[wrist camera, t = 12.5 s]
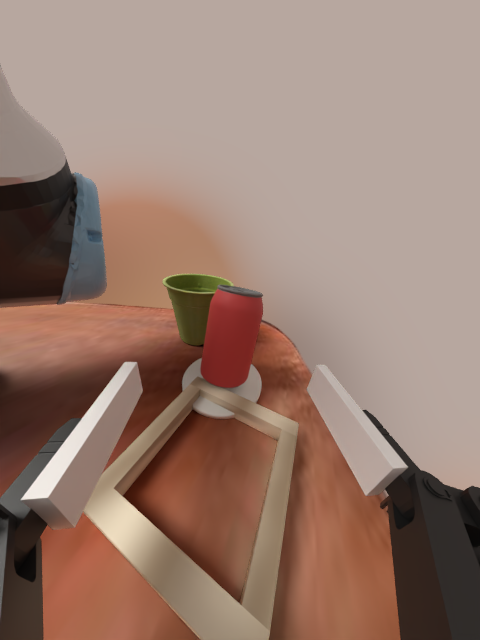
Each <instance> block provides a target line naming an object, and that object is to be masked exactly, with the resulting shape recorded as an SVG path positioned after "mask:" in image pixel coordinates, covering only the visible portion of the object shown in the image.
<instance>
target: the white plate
mask: <svg viewBox="0 0 480 640" xmlns="http://www.w3.org/2000/svg"><path fill="white" fill-rule="evenodd" d="M201 361H202V358H200V359H198V360H196V361H195V362H194V363H192V364H191V365H190V366H189V367H188V369H187V370H186V372H185V373H184V376H183V380H182V391H184V390H185V389H186V388H187V386H188V385H189V384H190V383H191V382H192V381H193V380H194V379H195V378H196V377H197V376H198V377H200V378H203V376H202V375H201V370H200V368H201ZM203 379H204V378H203ZM261 388H262V381H261V377H260V374H259V372H258V371H257V369H256V368H255V367H254V366H253V365H252V364H251V366H250V370H249V374H248V378H247V380H246V381H245V383H243V384H242V385H240V386H238V387H234V388H224V389H226V390H228V391H231V392H233V393H235V394H237V395H239V396H241V397H243V398H246V399H248V400H250V401H252V402H254V403H257V401H258V399H259V396H260V393H261ZM193 410H194V411H196V412H197V413H199V414H201V415H203V416H205V417H209V418H213V419H231V418H234V413H233V412H231V411H229V410H227V409H225V408H223V407H221V406H219V405H217V404H215V403H213V402H211V401H209V400H207V399H205V398H203V397H201V396H199V398H198V399H197V400H196V401H195V402H194V404H193Z"/></svg>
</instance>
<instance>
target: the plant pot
mask: <svg viewBox="0 0 480 640" xmlns="http://www.w3.org/2000/svg"><path fill="white" fill-rule="evenodd" d="M163 284H164V286H166V287H167V290H168V293H169V297H170V299H171V301H172V305H173V309H174V313H175V317H176V321H177V325H178V329H179V333H180V337H181V339H182V340H183V341H184V342H185V343H187V344H190V345H201V344H204V341H205V335H206V328H207V322H208V315H209V308H210V302H211V300H212V297H213V296H214V294H215V292H216V290H217V289H218V287H217V286H218V285H228V286H234V285H233V283H232V282H230V281H228V280H226V279H224V278H220V277H216V276H211V275H203V274H178V275H172V276H168V277H166V278H164V279H163Z"/></svg>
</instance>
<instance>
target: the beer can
mask: <svg viewBox="0 0 480 640" xmlns="http://www.w3.org/2000/svg"><path fill="white" fill-rule="evenodd" d="M217 287H218V289H217V290H216V292H215V294H214V296H213V297H212V300H211V302H210V308H209V315H208V322H207V328H206V335H205V341H204V348H203V354H202V361H201V368H200V370H201V375H202V376H203V378H204V379H205V380H206V381H207V382H209V383H210V384H212V385H214V386H217V387H221V388H234V387H238V386H240V385H242V384H243V383H245V381H246V380H247V378H248V374H249V370H250V366H251V362H252V357H253V353H254V349H255V345H256V341H257V336H258V332H259V328H260V324H261V319H262V315H263V304H262V298H261V297H262V296H263V295H262V293H260V292H257V291H253V290H249V289H245V288H240V287H235V286H228V285H218V286H217Z"/></svg>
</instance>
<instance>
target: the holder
mask: <svg viewBox="0 0 480 640" xmlns="http://www.w3.org/2000/svg"><path fill="white" fill-rule="evenodd" d="M199 396H201V397H203V398H205V399H207V400H209V401H211V402H213V403H215V404H217V405H219V406H221V407H223V408H225V409H227V410H229V411H231V412H233V413H234V418H235V419H237V420H239V421H241V422H243V423H245V424H247V425H249V426H251V427H252V428H254V429H256V430H258V431H260V432H262V433H264V434H266V435H268V436H270V437H272V438H274V439H276V440H277V441H278V442H277V446H276V451H275V455H274V459H273V463H272V468H271V472H270V476H269V480H268V485H267V489H266V493H265V497H264V502H263V506H262V510H261V514H260V519H259V523H258V527H257V531H256V536H255V540H254V544H253V548H252V552H251V557H250V561H249V565H248V569H247V574H246V578H245V582H244V586H243V591H242V595H241V599H240V603H238V602H237V601H236V600H235V599H234V598H233V597H232V596H231V595H230V594H228V593H227V592H226V591H225V590H224V589H223V588H222V587H221V586H220V585H219V584H218V583H216V582H215V581H214V580H213V579H212V578H211V577H210V576H209V575H208V574H207V573H206V572H205V571H203V570H202V569H201V568H200V567H199V566H198V565H197V564H196V563H195V562H194V561H193V560H191V559H190V558H189V557H188V556H187V555H186V554H185V553H184V552H183V551H182V550H181V549H179V548H178V547H177V546H176V545H175V544H174V543H173V542H172V541H171V540H170V539H169V538H167V537H166V536H165V535H164V534H163V533H162V532H161V531H160V530H159V529H158V528H157V527H155V526H154V525H153V524H152V523H151V522H150V521H149V520H148V519H147V518H146V517H145V516H143V515H142V514H141V513H140V512H139V511H138V510H137V509H136V508H135V507H134V506H133V505H131V504H130V503H129V502H128V501H127V500H126V499H125V498H124V497H123V495H124V494H125V492H126V491H127V490H128V489H129V488H130V486H131V485H132V484H133V483H134V481H135V480H136V479H137V478H138V476H139V475H140V474H141V473H142V471H143V470H144V469H145V468H146V466H147V465H148V464H149V463H150V462H151V460H152V459H153V458H154V457H155V455H156V454H157V453H158V452H159V450H160V449H161V448H162V447H163V445H164V444H165V443H166V442H167V440H168V439H169V438H170V437H171V435H172V434H173V433H174V432H175V431H176V429H177V428H178V427H179V426H180V424H181V423H182V422H183V421H184V419H185V418H186V417H187V416H188V414H189V413H190V412H191V411H192V409H193V404H194V402H195V401H196V400H197V399H198V398H199ZM298 426H299V423H297V422H295V421H293V420H291V419H289V418H286V417H284V416H282V415H280V414H278V413H276V412H274V411H271V410H269V409H267V408H265V407H263V406H261V405H259V404H256V403H254V402H252V401H250V400H248V399H246V398H243V397H241V396H239V395H237V394H235V393H233V392H231V391H228V390H226V389H224V388H221V387H217V386H214V385H212V384H210V383H209V382H207V381H206V380H205V379H203V378H200V377H198V376H197V377H196V378H195V379H194V380H193V381H192V382H191V383H190V384H189V385H188V386H187V388H186V389H185V390H184V391H183V392H182V393H181V394H180V395H179V396H178V397H177V398H176V399H175V400H174V401H173V402H172V403H171V404H170V405H169V406H168V407H167V408H166V409H165V410H164V411H163V412H162V413H161V414H160V415H159V416H158V417H157V418H156V419H155V420H154V421H153V422H152V423H151V424H150V425H149V426H148V427H147V428H146V429H145V431H144V432H143V433H142V434H141V435H140V436H139V437H138V438H137V439H136V440H135V441H134V442H133V443H132V444H131V445H130V446H129V447H128V448H127V449H126V450H125V451H124V452H123V453H122V454H121V455H120V456H119V457H118V458H117V459H116V460H115V461H114V462H113V463H112V464H111V465H110V466H109V467H108V468H107V469H106V470H105V471H104V472H103V474H102V475H101V476H100V478H99V480H98V482H97V484H96V486H95V488H94V490H93V492H92V494H91V496H90V498H89V500H88V502H87V504H86V506H85V508H84V510H83V512H84V514H85V515H86V516H87V517H88V518H89V519H90V520H91V521H92V522H93V523H94V525H95V526H96V527H97V528H98V529H99V530H100V531H101V532H102V533H103V534H104V535H105V537H106V538H107V539H108V540H109V541H110V542H111V543H112V544H113V545H114V546H115V547H116V549H117V550H118V551H119V552H120V553H121V554H122V555H123V556H124V557H125V558H126V559H127V560H128V562H129V563H130V564H131V565H132V566H133V567H134V568H135V569H136V570H137V571H138V572H139V574H140V575H141V576H142V577H143V578H144V579H145V580H146V581H147V582H148V583H149V584H150V586H151V587H152V588H153V589H154V590H155V591H156V592H157V593H158V594H159V595H160V596H161V597H162V599H163V600H164V601H165V602H166V603H167V604H168V605H169V606H170V607H171V608H172V609H173V611H174V612H175V613H176V614H177V615H178V616H179V617H180V618H181V619H182V620H183V621H184V623H185V624H186V625H187V626H188V627H189V628H190V629H191V630H192V631H193V632H194V633H195V634H196V636H197V637H198V638H199V639H200V640H269V635H270V628H271V620H272V613H273V606H274V599H275V592H276V584H277V577H278V570H279V563H280V556H281V548H282V541H283V534H284V527H285V520H286V512H287V505H288V498H289V491H290V484H291V477H292V469H293V462H294V455H295V448H296V441H297V433H298Z"/></svg>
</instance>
